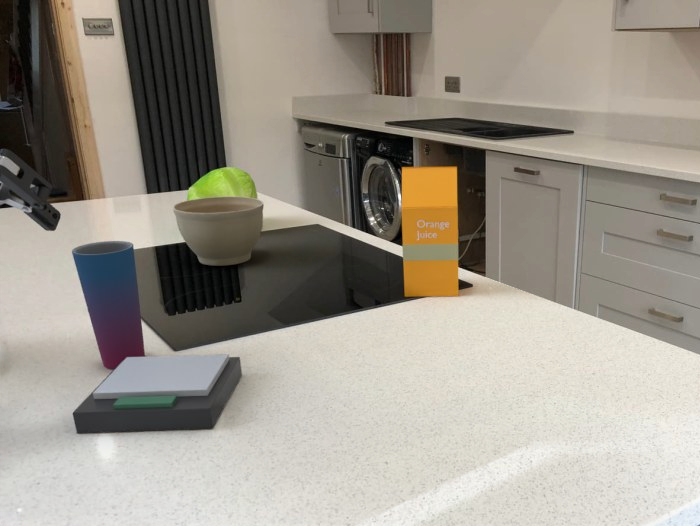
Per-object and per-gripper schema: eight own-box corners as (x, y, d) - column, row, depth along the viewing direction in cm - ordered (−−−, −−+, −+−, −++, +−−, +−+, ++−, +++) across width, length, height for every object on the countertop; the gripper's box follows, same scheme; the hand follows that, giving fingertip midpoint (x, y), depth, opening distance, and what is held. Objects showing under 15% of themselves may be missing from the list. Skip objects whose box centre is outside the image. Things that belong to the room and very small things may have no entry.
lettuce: (208, 242, 154) (199, 177, 149) (181, 225, 170) (172, 166, 165) (278, 232, 162) (271, 170, 157) (246, 217, 178) (239, 160, 173)
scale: (76, 433, 76) (70, 405, 75) (125, 378, 89) (121, 353, 88) (212, 428, 77) (208, 401, 76) (242, 374, 90) (239, 350, 89)
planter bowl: (197, 277, 130) (188, 216, 126) (170, 258, 142) (161, 202, 138) (282, 262, 139) (276, 204, 135) (250, 246, 151) (244, 192, 147)
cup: (88, 360, 94) (65, 247, 89) (142, 347, 99) (123, 238, 93) (104, 377, 90) (80, 257, 84) (160, 362, 94) (141, 247, 88)
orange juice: (458, 296, 118) (457, 170, 111) (404, 297, 118) (399, 170, 111) (458, 282, 125) (457, 162, 118) (406, 282, 125) (402, 163, 118)
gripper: (-26, 79, 61) (91, 193, 76) (-164, 80, 64) (-25, 190, 79) (-63, 152, 58) (67, 256, 73) (-206, 150, 61) (-54, 251, 76)
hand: (19, 222), depth 76 cm, fingers open, 8 cm apart
